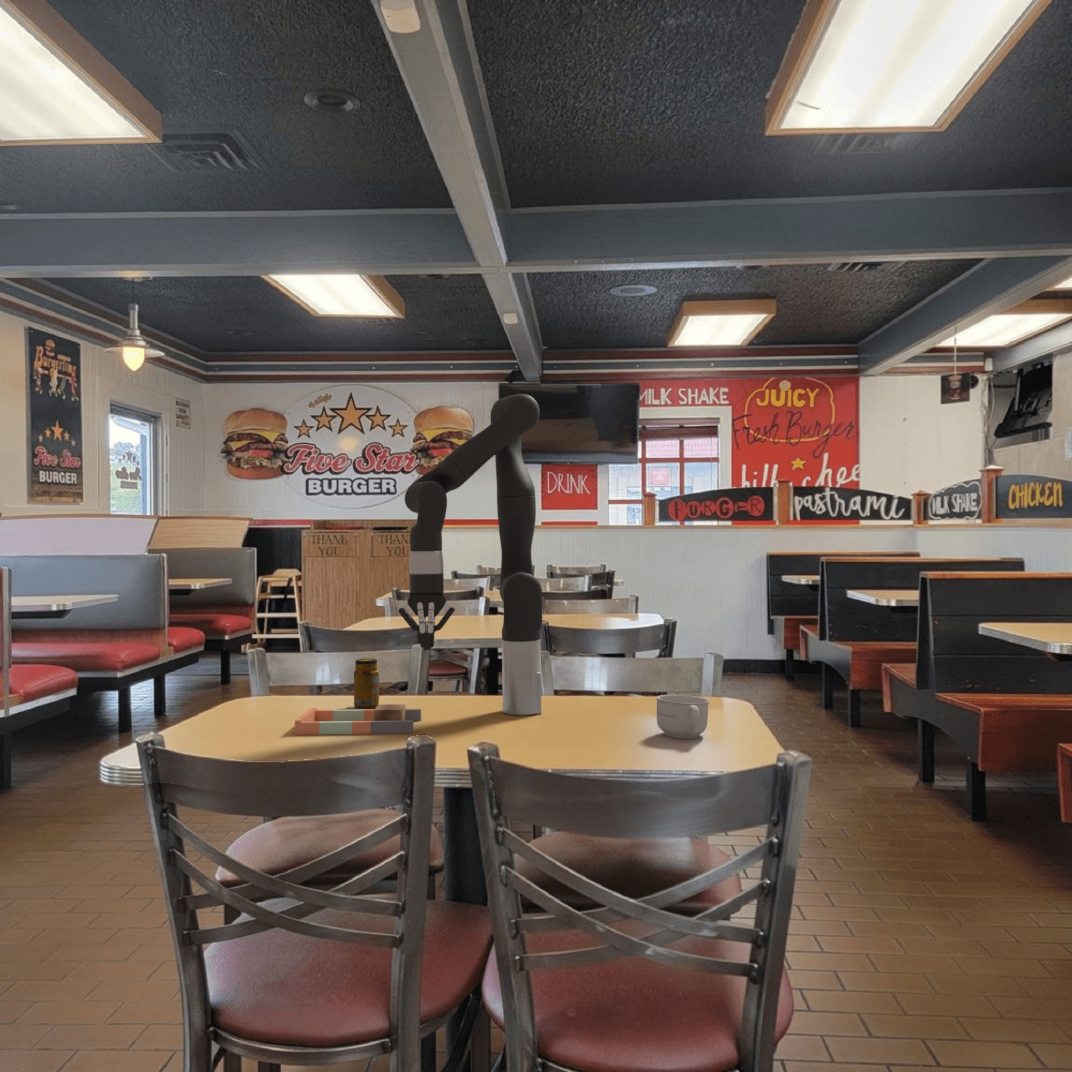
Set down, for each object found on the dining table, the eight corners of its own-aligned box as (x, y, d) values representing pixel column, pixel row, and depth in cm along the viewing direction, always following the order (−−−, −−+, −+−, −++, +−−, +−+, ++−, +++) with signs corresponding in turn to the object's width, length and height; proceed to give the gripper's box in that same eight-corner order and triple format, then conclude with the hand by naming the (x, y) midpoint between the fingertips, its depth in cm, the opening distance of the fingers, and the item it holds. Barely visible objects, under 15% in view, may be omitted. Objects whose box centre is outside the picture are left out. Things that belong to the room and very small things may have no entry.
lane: (421, 719, 196) (421, 706, 196) (412, 733, 183) (412, 719, 182) (311, 720, 196) (311, 707, 196) (295, 734, 183) (294, 720, 183)
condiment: (372, 704, 215) (372, 656, 215) (389, 709, 208) (388, 660, 208) (346, 708, 210) (345, 659, 210) (362, 713, 204) (361, 663, 204)
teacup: (654, 729, 183) (653, 692, 183) (704, 729, 183) (704, 692, 183) (661, 746, 169) (661, 705, 169) (716, 746, 169) (716, 705, 169)
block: (405, 724, 192) (405, 704, 192) (401, 730, 186) (401, 709, 186) (378, 724, 192) (378, 704, 192) (374, 730, 186) (374, 710, 186)
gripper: (458, 570, 193) (459, 647, 193) (399, 571, 193) (400, 647, 193) (454, 572, 185) (455, 651, 185) (393, 572, 185) (394, 652, 185)
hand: (427, 649), depth 189 cm, fingers closed
